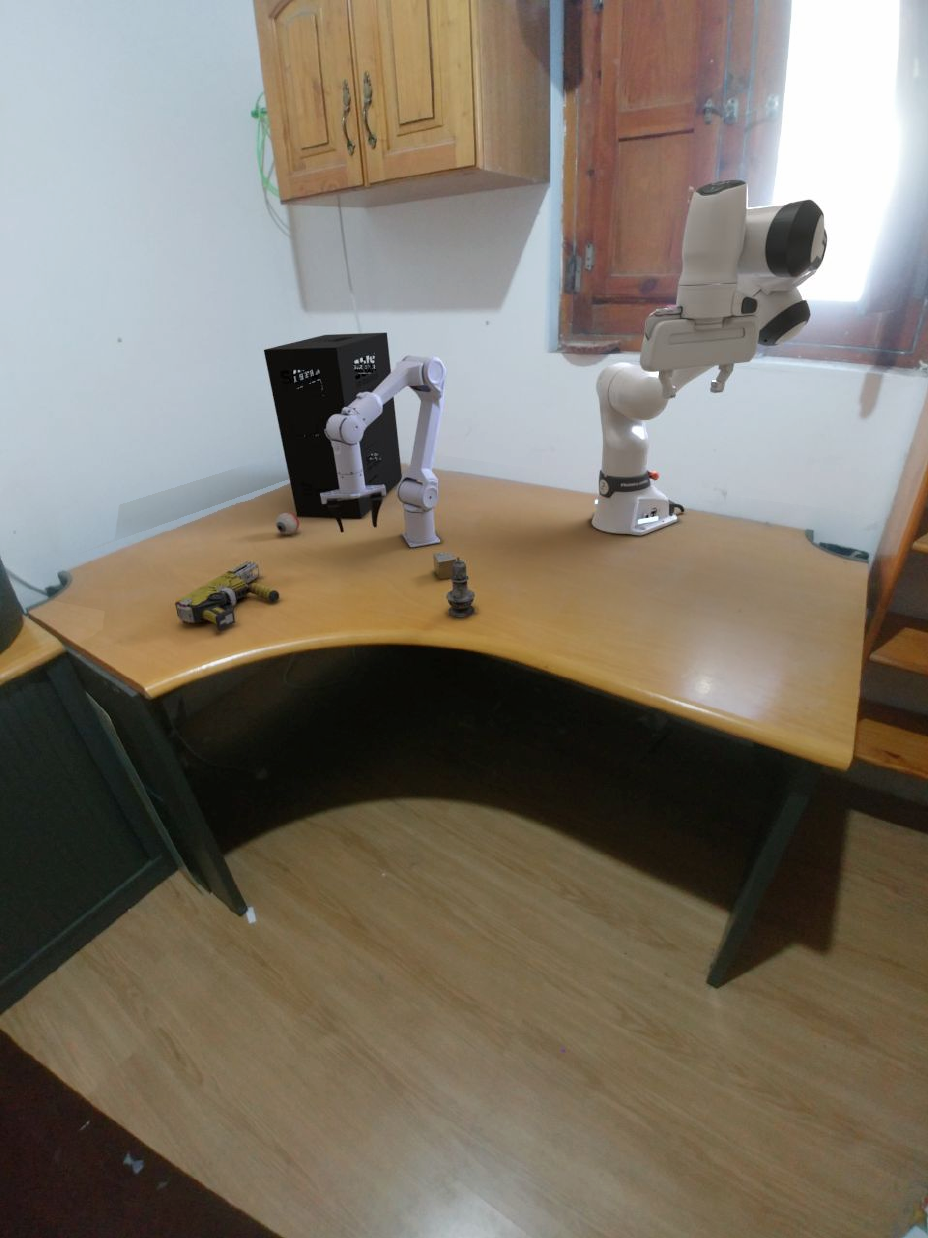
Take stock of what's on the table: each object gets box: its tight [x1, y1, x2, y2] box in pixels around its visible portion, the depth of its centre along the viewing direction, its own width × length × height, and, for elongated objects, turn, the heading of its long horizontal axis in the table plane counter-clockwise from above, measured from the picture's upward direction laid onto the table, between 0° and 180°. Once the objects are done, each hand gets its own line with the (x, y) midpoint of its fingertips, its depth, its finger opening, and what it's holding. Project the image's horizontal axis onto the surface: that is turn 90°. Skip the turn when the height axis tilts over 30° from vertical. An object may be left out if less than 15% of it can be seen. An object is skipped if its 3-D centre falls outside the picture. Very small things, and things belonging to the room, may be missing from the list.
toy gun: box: [174, 560, 280, 631], centre depth 130 cm, size 5×24×15 cm
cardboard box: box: [263, 332, 403, 519], centre depth 180 cm, size 38×20×45 cm, turn 167°
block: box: [433, 551, 457, 581], centre depth 137 cm, size 4×5×4 cm
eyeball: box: [275, 511, 300, 536], centre depth 163 cm, size 6×6×6 cm
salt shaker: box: [445, 556, 476, 618], centre depth 120 cm, size 6×6×12 cm
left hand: (358, 528), depth 141 cm, fingers open, 7 cm apart
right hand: (692, 395), depth 104 cm, fingers open, 8 cm apart
